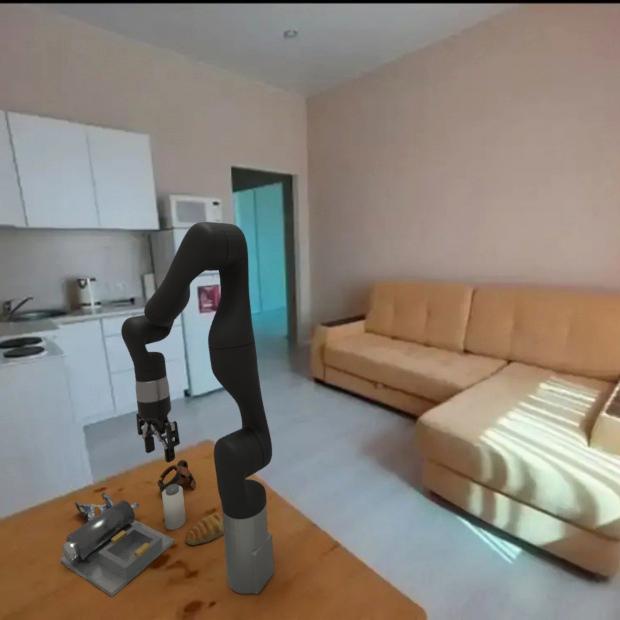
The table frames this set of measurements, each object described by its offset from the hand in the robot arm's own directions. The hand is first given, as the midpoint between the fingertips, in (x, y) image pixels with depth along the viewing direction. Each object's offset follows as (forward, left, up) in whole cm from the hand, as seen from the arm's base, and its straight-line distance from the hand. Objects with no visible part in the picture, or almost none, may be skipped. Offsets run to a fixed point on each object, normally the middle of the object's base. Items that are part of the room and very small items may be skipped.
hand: (160, 456), depth 94 cm
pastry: (-12, -2, -19) cm, 23 cm away
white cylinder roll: (-2, -1, -19) cm, 19 cm away
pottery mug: (+9, -12, -19) cm, 25 cm away
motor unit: (+3, +12, -19) cm, 22 cm away
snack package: (+18, +6, -20) cm, 28 cm away
